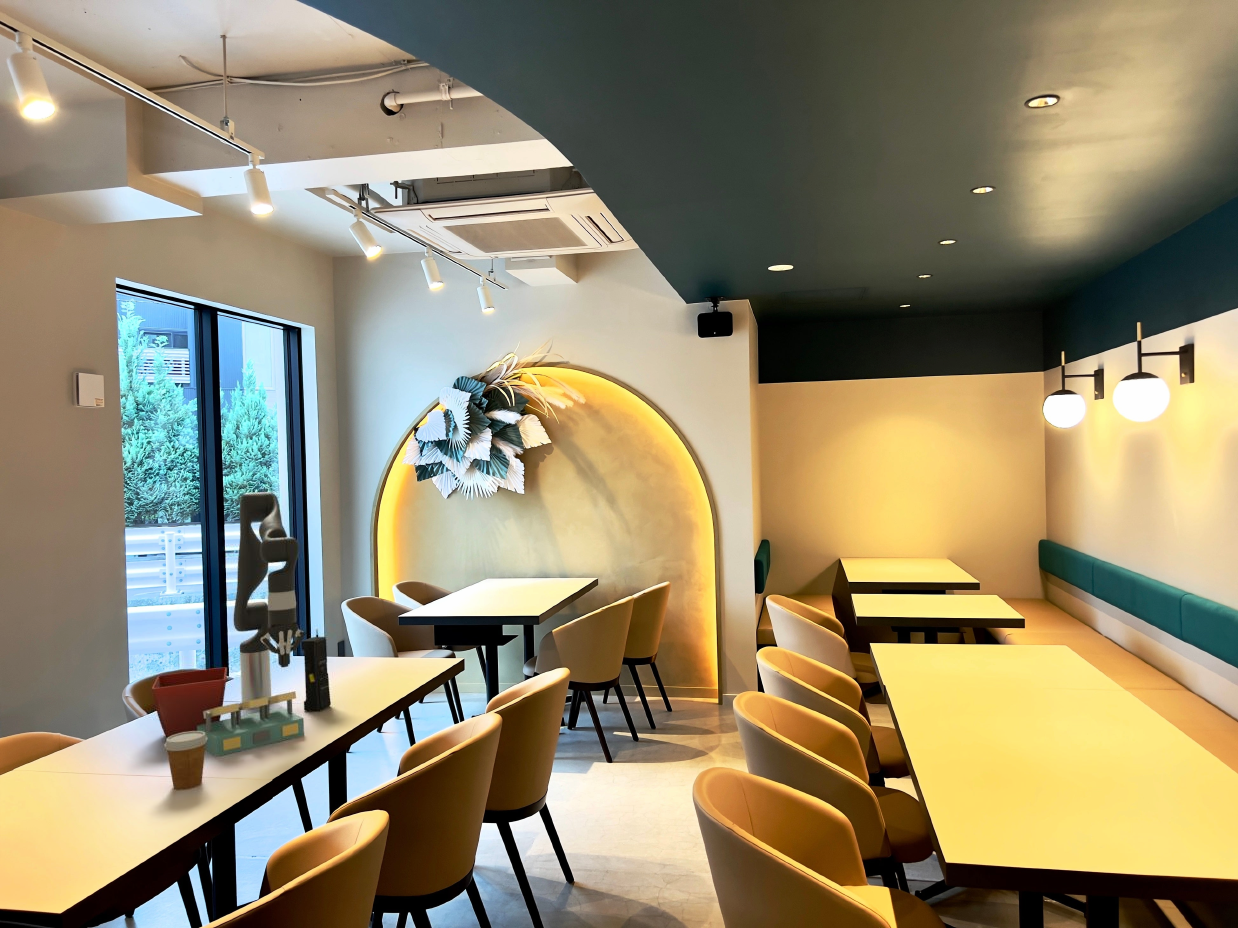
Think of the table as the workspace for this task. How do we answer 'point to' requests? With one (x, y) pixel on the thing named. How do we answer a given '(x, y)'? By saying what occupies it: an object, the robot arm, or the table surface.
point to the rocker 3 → (281, 697)
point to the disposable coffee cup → (186, 758)
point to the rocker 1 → (222, 710)
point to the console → (251, 729)
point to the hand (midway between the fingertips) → (284, 666)
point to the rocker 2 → (253, 703)
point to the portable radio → (316, 674)
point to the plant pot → (188, 698)
